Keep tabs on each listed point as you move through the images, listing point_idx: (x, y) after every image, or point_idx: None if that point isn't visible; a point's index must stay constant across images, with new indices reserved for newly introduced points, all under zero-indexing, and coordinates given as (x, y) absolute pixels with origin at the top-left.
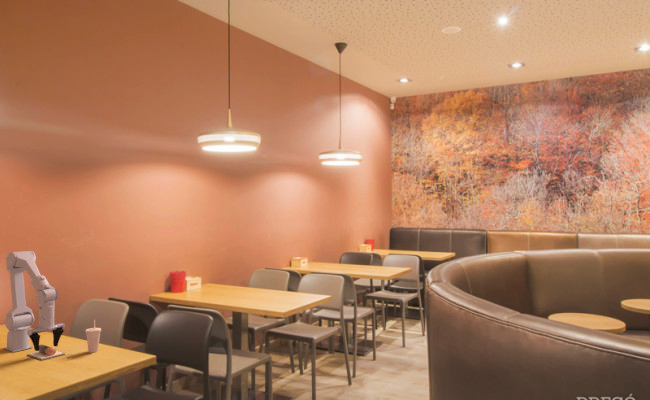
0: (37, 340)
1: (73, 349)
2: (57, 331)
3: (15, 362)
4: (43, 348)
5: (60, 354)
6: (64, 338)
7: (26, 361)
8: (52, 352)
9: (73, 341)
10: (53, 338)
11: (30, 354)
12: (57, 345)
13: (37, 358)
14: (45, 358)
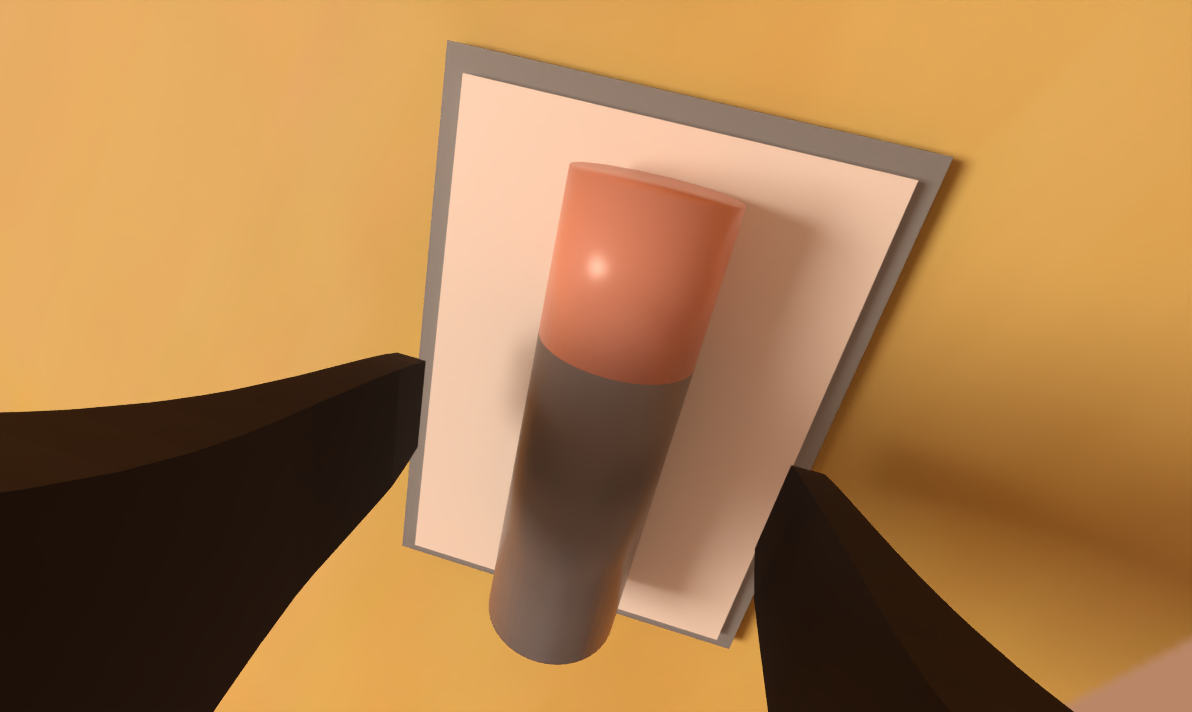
0: (989, 687)
1: (205, 211)
2: (5, 602)
3: (1111, 543)
4: (646, 478)
5: (530, 91)
6: None
7: (1029, 414)
8: (657, 178)
9: None
10: (311, 575)
11: (736, 593)
12: (385, 356)
13: (869, 336)
14: (849, 159)
